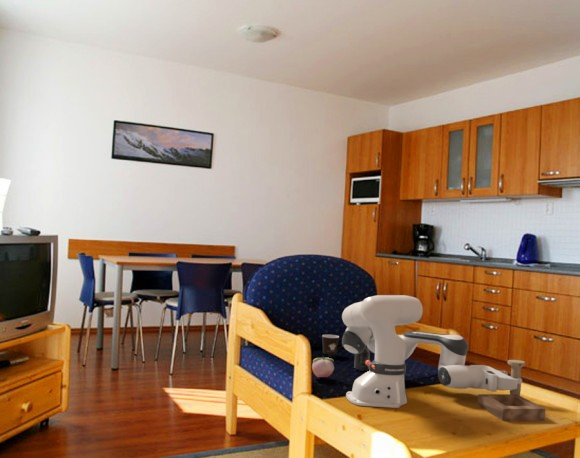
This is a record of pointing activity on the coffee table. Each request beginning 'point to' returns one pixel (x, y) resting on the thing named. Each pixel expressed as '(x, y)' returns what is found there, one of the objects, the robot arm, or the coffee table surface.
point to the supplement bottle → (362, 360)
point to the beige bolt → (516, 373)
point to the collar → (511, 407)
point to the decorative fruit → (322, 367)
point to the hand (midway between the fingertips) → (513, 377)
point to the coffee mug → (330, 344)
